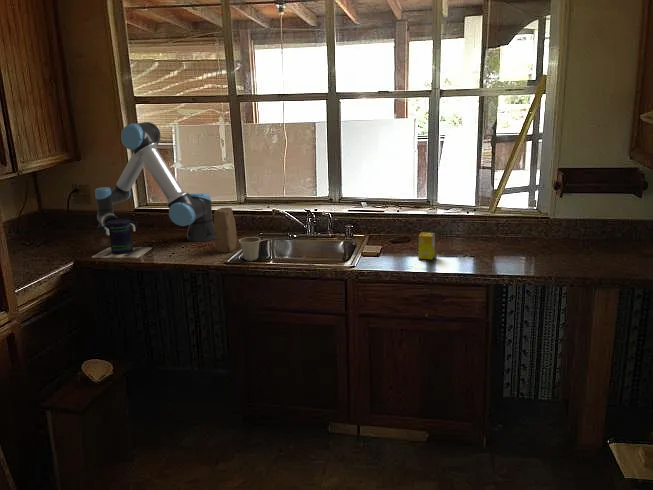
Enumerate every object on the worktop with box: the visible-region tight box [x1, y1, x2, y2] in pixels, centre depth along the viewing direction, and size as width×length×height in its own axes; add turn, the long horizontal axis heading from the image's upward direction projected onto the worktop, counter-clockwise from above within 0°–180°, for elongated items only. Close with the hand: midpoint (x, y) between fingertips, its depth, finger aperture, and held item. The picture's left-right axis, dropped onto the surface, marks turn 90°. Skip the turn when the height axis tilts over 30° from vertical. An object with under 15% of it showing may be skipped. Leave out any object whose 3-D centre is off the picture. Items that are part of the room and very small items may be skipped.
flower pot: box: [238, 236, 261, 261], centre depth 255 cm, size 9×9×9 cm
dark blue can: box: [108, 218, 134, 255], centre depth 270 cm, size 10×10×15 cm
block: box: [213, 207, 238, 254], centre depth 268 cm, size 11×8×20 cm
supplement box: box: [417, 232, 436, 262], centre depth 246 cm, size 6×6×11 cm
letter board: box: [91, 246, 153, 259], centre depth 271 cm, size 22×16×1 cm
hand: (121, 230), depth 265 cm, fingers open, 11 cm apart
